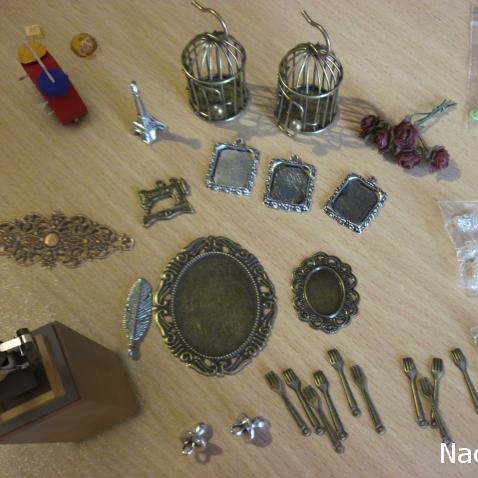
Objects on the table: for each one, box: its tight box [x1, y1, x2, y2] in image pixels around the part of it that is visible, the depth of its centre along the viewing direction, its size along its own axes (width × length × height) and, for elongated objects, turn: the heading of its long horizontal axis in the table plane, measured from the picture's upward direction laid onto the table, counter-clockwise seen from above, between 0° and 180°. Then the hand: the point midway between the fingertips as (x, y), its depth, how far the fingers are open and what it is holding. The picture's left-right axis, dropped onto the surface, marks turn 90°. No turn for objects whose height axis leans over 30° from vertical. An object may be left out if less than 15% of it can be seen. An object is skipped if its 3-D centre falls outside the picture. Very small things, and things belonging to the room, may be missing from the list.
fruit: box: [70, 32, 103, 67], centre depth 129 cm, size 8×8×4 cm
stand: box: [0, 319, 141, 446], centre depth 88 cm, size 12×12×36 cm
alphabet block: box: [23, 23, 45, 42], centre depth 129 cm, size 3×3×3 cm
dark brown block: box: [0, 355, 38, 403], centre depth 67 cm, size 5×5×4 cm
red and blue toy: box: [17, 39, 89, 126], centre depth 115 cm, size 15×9×20 cm, turn 38°
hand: (7, 375), depth 68 cm, fingers closed on dark brown block, 5 cm apart
